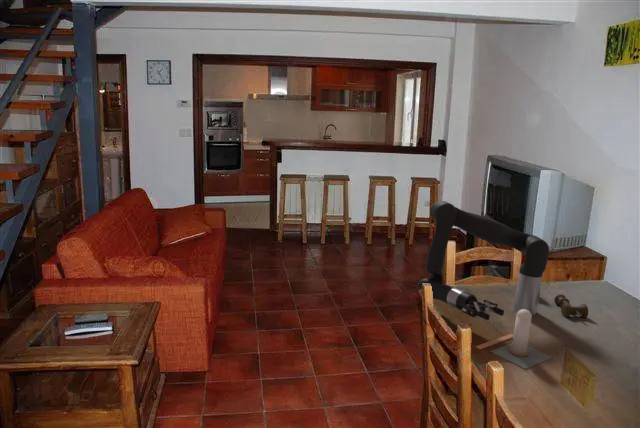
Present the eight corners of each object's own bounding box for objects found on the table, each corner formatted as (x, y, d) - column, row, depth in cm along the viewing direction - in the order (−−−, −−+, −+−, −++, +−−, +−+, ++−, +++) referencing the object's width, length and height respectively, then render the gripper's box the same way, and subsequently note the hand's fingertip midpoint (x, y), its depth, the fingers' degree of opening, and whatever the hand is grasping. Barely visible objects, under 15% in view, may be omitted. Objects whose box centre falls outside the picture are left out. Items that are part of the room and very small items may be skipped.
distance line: (511, 334, 202) (512, 333, 202) (516, 336, 201) (516, 335, 201) (475, 347, 190) (475, 346, 189) (480, 349, 188) (480, 348, 188)
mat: (517, 341, 196) (517, 341, 196) (551, 358, 185) (551, 357, 185) (490, 351, 187) (490, 351, 187) (525, 369, 176) (525, 368, 176)
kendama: (569, 305, 237) (592, 323, 218) (548, 305, 237) (569, 322, 218) (570, 293, 236) (594, 309, 217) (549, 292, 236) (571, 309, 216)
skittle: (515, 347, 191) (522, 304, 187) (531, 354, 186) (538, 311, 182) (505, 351, 187) (511, 308, 184) (520, 358, 182) (527, 314, 179)
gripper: (450, 294, 201) (485, 309, 188) (474, 288, 209) (509, 302, 196) (448, 312, 203) (482, 328, 190) (471, 305, 211) (506, 321, 198)
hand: (496, 315), depth 193 cm, fingers open, 8 cm apart
